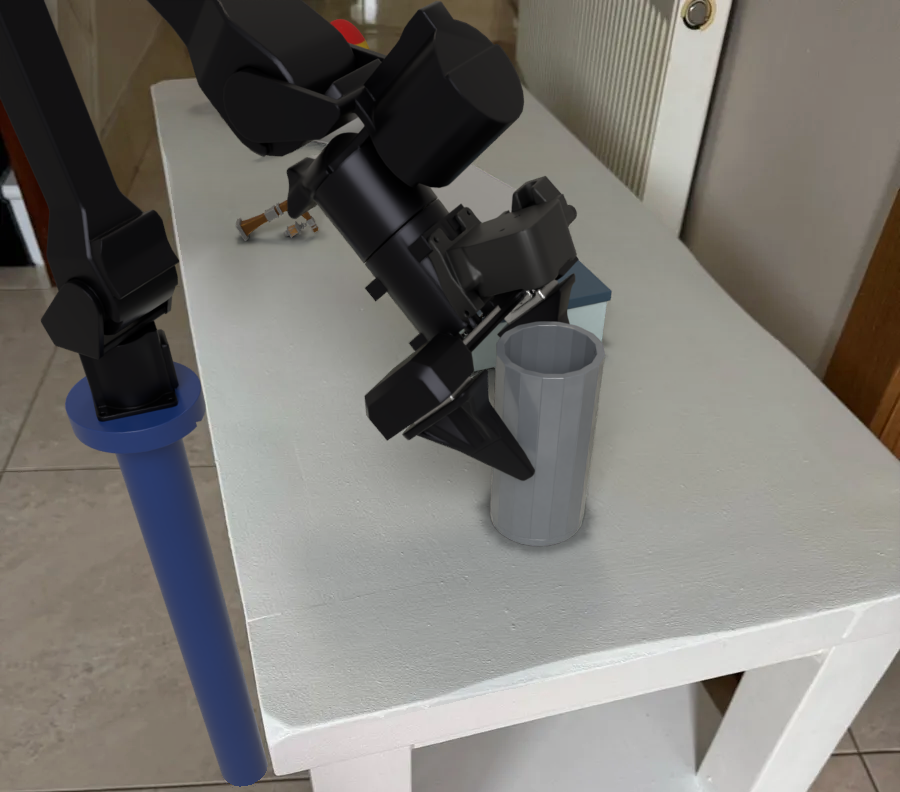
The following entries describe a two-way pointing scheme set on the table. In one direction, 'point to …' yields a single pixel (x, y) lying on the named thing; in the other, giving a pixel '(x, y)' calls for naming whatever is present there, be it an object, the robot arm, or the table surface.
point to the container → (581, 312)
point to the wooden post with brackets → (271, 214)
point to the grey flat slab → (475, 193)
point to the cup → (546, 428)
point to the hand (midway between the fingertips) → (559, 437)
